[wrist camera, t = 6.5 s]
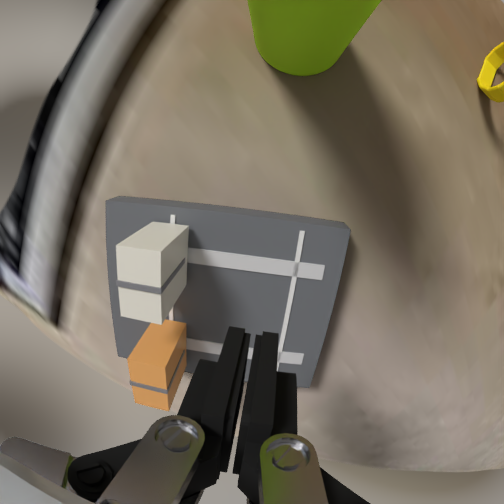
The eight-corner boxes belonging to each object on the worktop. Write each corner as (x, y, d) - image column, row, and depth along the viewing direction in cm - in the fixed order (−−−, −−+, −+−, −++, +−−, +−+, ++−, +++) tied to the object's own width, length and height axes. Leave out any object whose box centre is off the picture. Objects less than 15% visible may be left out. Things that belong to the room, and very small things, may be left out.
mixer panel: (343, 222, 20) (351, 230, 18) (307, 372, 24) (309, 388, 22) (119, 196, 20) (104, 200, 18) (127, 343, 24) (117, 356, 22)
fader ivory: (189, 225, 18) (160, 252, 13) (187, 284, 19) (162, 326, 15) (152, 221, 18) (114, 245, 13) (152, 279, 20) (119, 316, 15)
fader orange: (187, 323, 20) (165, 369, 16) (187, 365, 22) (169, 412, 17) (154, 316, 21) (125, 359, 16) (156, 359, 22) (134, 403, 17)
